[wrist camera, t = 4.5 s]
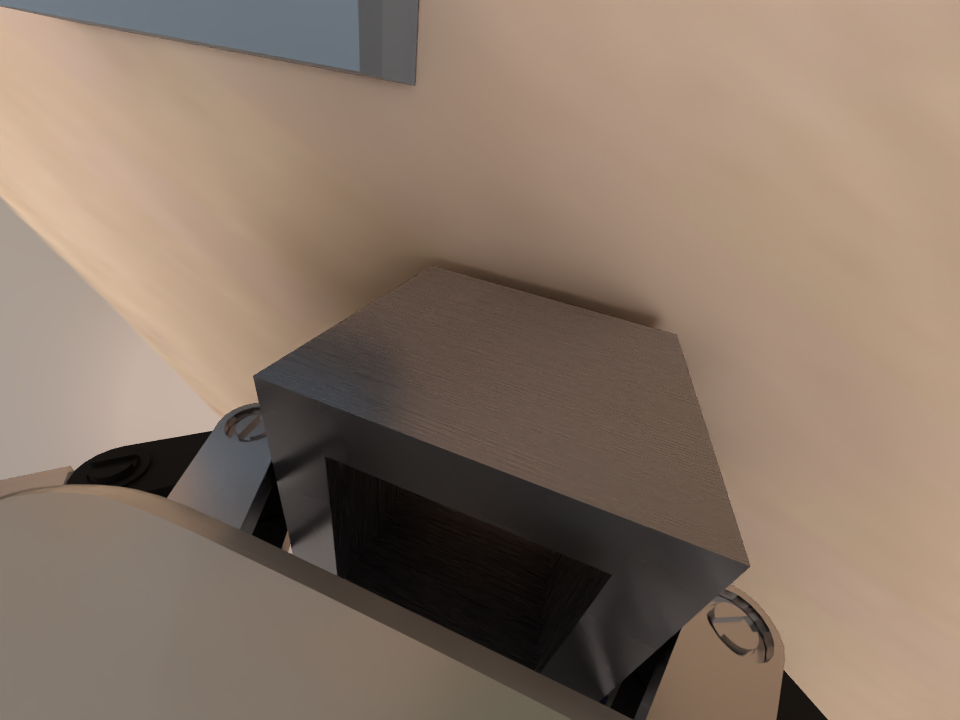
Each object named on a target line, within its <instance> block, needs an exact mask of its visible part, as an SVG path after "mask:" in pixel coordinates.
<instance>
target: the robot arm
mask: <svg viewBox="0 0 960 720" xmlns="http://www.w3.org/2000/svg"><path fill="white" fill-rule="evenodd" d="M290 544H291V543H290V539H289V534H288V530H287V525H286V521H285V517H284V512H283V508H282V503H281V499H280V494H279V490H278V485H277V481H276V476H275V472H274V467H273V463H272V458H271V454H270V449H269V445H268V440H267V436H266V431H265V427H264V422H263V418H262V413H261V409H260V405H259V403H253V404H249V405H244V406H242V407H239V408H237V409H234V410H233V411H231V412H230V413H228V414H226V415H225V416H224V417H223V418H222V419H221V420H220V421H219V423H218V424H217V425H216V427H215V429H214V430H213V431H210V432H204V433H198V434H192V435H186V436H181V437H174V438H169V439H163V440H157V441H151V442H145V443H140V444H134V445H129V446H123V447H119V448H115V449H111V450H109V451H107V452H104V453H101V454H99V455H97V456H95V457H93V458H92V459H90V460H88V461H86V462H85V463H84V464H82V465H81V466H80V467H79V468H77V469H76V470H75V471H74V470H73V469H72V467H71V466H68V467H63V468H57V469H53V470H48V471H43V472H38V473H34V474H28V475H23V476H19V477H14V478H9V479H4V480H0V720H828V719H827V718H826V717H825V716H824V715H823V714H822V713H821V711H820V710H819V709H818V708H817V707H816V706H815V705H814V704H813V702H812V701H811V700H810V699H809V698H808V697H807V696H806V695H805V693H804V692H803V691H802V690H801V689H800V688H799V687H798V686H797V684H796V683H795V682H794V681H793V680H792V679H791V678H790V677H789V675H788V674H787V673H786V672H785V671H784V663H785V655H784V646H783V643H782V640H781V637H780V635H779V632H778V631H777V629H776V627H775V626H774V624H773V622H772V621H771V619H770V617H769V616H768V615H767V614H766V613H765V611H764V610H763V609H762V608H761V607H760V606H759V604H757V603H756V602H755V601H754V600H753V599H752V598H751V597H750V596H748V595H747V594H746V593H745V592H743V591H741V590H740V589H738V588H737V587H735V586H733V585H731V584H730V585H729V586H728V587H727V588H726V589H725V590H723V591H722V592H721V593H720V594H719V595H718V596H717V597H716V598H714V599H713V600H712V601H711V602H710V603H709V604H708V605H707V606H706V607H704V608H703V609H702V610H701V611H700V612H699V613H698V614H697V615H695V616H694V617H693V618H692V619H691V620H690V621H689V622H688V623H686V624H685V625H684V626H683V627H682V628H681V629H680V630H679V631H678V632H676V633H675V634H674V635H673V636H672V637H671V638H670V639H669V640H667V641H666V642H665V643H664V644H663V645H662V646H661V647H660V648H659V649H657V650H656V651H655V652H654V653H653V654H652V655H651V656H650V657H648V658H647V659H646V660H645V661H644V662H643V663H642V664H641V665H639V666H638V667H637V668H636V669H635V670H634V671H633V672H632V673H631V674H629V675H628V676H627V677H626V678H625V679H624V680H623V681H622V682H620V683H619V684H618V685H617V686H616V687H615V688H614V689H613V690H612V692H611V694H610V696H609V698H608V700H607V702H606V704H605V705H603V704H601V703H599V702H597V701H595V700H593V699H591V698H588V697H586V696H584V695H582V694H580V693H578V692H576V691H574V690H572V689H570V688H568V687H566V686H564V685H562V684H560V683H558V682H556V681H554V680H552V679H550V678H547V677H545V676H543V675H541V674H539V673H537V672H535V671H533V670H531V669H529V668H527V667H525V666H523V665H521V664H519V663H517V662H515V661H513V660H511V659H509V658H507V657H504V656H502V655H500V654H498V653H496V652H494V651H492V650H490V649H488V648H486V647H484V646H482V645H480V644H478V643H476V642H474V641H472V640H470V639H467V638H465V637H463V636H461V635H459V634H457V633H455V632H453V631H451V630H449V629H447V628H445V627H443V626H441V625H438V624H436V623H434V622H432V621H430V620H428V619H426V618H424V617H422V616H420V615H418V614H416V613H414V612H412V611H409V610H407V609H405V608H403V607H401V606H399V605H397V604H395V603H393V602H391V601H389V600H387V599H384V598H382V597H380V596H378V595H376V594H374V593H372V592H370V591H368V590H366V589H364V588H362V587H360V586H357V585H355V584H353V583H351V582H349V581H347V580H345V579H343V578H341V577H339V576H337V575H334V574H332V573H330V572H328V571H326V570H324V569H322V568H320V567H318V566H316V565H313V564H311V563H309V562H307V561H305V560H303V559H301V558H299V557H297V556H295V555H292V554H290V553H288V550H289V547H290Z"/></svg>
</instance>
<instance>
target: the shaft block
mask: <svg viewBox="0 0 960 720" xmlns="http://www.w3.org/2000/svg"><path fill="white" fill-rule="evenodd" d="M418 3H419V0H0V6H1V7H6V8H11V9H15V10H20V11H25V12H30V13H34V14H39V15H44V16H48V17H53V18H58V19H63V20H67V21H72V22H77V23H83V24H88V25H94V26H99V27H104V28H110V29H115V30H120V31H126V32H131V33H136V34H142V35H147V36H152V37H158V38H163V39H168V40H174V41H179V42H185V43H190V44H195V45H201V46H206V47H211V48H217V49H222V50H227V51H233V52H238V53H243V54H249V55H254V56H259V57H265V58H270V59H275V60H281V61H286V62H292V63H297V64H302V65H308V66H313V67H318V68H324V69H329V70H334V71H340V72H345V73H350V74H356V75H361V76H366V77H372V78H377V79H383V80H388V81H393V82H399V83H404V84H409V85H415V72H416V49H417V26H418Z"/></svg>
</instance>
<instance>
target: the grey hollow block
mask: <svg viewBox="0 0 960 720" xmlns="http://www.w3.org/2000/svg"><path fill="white" fill-rule="evenodd" d="M253 378H254V382H255V387H256V391H257V396H258V400H259V405H260V409H261V413H262V418H263V422H264V427H265V431H266V436H267V440H268V445H269V449H270V454H271V458H272V463H273V467H274V472H275V476H276V481H277V485H278V490H279V494H280V499H281V503H282V508H283V512H284V517H285V521H286V525H287V530H288V534H289V539H290V543H291V548H292V552H293V555H295V556H297V557H299V558H301V559H303V560H305V561H307V562H309V563H311V564H313V565H316V566H318V567H320V568H322V569H324V570H326V571H328V572H330V573H332V574H334V575H337V576H339V577H341V578H343V579H345V580H347V581H349V582H351V583H353V584H355V585H357V586H360V587H362V588H364V589H366V590H368V591H370V592H372V593H374V594H376V595H378V596H380V597H382V598H384V599H387V600H389V601H391V602H393V603H395V604H397V605H399V606H401V607H403V608H405V609H407V610H409V611H412V612H414V613H416V614H418V615H420V616H422V617H424V618H426V619H428V620H430V621H432V622H434V623H436V624H438V625H441V626H443V627H445V628H447V629H449V630H451V631H453V632H455V633H457V634H459V635H461V636H463V637H465V638H467V639H470V640H472V641H474V642H476V643H478V644H480V645H482V646H484V647H486V648H488V649H490V650H492V651H494V652H496V653H498V654H500V655H502V656H504V657H507V658H509V659H511V660H513V661H515V662H517V663H519V664H521V665H523V666H525V667H527V668H529V669H531V670H533V671H535V672H537V673H539V674H541V675H543V676H545V677H547V678H550V679H552V680H554V681H556V682H558V683H560V684H562V685H564V686H566V687H568V688H570V689H572V690H574V691H576V692H578V693H580V694H582V695H584V696H586V697H588V698H591V699H593V700H595V701H597V702H599V701H600V700H601V699H603V698H604V697H605V696H606V695H607V694H608V693H609V692H610V691H612V690H613V689H614V688H615V687H616V686H617V685H618V684H619V683H620V682H622V681H623V680H624V679H625V678H626V677H627V676H628V675H629V674H631V673H632V672H633V671H634V670H635V669H636V668H637V667H638V666H639V665H641V664H642V663H643V662H644V661H645V660H646V659H647V658H648V657H650V656H651V655H652V654H653V653H654V652H655V651H656V650H657V649H659V648H660V647H661V646H662V645H663V644H664V643H665V642H666V641H667V640H669V639H670V638H671V637H672V636H673V635H674V634H675V633H676V632H678V631H679V630H680V629H681V628H682V627H683V626H684V625H685V624H686V623H688V622H689V621H690V620H691V619H692V618H693V617H694V616H695V615H697V614H698V613H699V612H700V611H701V610H702V609H703V608H704V607H706V606H707V605H708V604H709V603H710V602H711V601H712V600H713V599H714V598H716V597H717V596H718V595H719V594H720V593H721V592H722V591H723V590H725V589H726V588H727V587H728V586H729V585H730V584H731V583H732V582H733V581H735V580H736V579H737V578H738V577H739V576H740V575H741V574H742V573H744V572H745V571H746V570H747V569H748V568H749V567H750V563H749V560H748V557H747V554H746V551H745V548H744V544H743V541H742V538H741V535H740V532H739V529H738V526H737V522H736V519H735V516H734V513H733V510H732V507H731V504H730V500H729V497H728V494H727V491H726V488H725V485H724V482H723V478H722V475H721V472H720V469H719V466H718V463H717V460H716V456H715V453H714V450H713V447H712V444H711V441H710V438H709V434H708V431H707V428H706V425H705V422H704V419H703V416H702V412H701V409H700V406H699V403H698V400H697V397H696V394H695V390H694V387H693V384H692V381H691V378H690V375H689V372H688V368H687V365H686V362H685V359H684V356H683V353H682V350H681V346H680V343H679V340H678V337H677V335H676V334H672V333H669V332H665V331H662V330H658V329H655V328H651V327H648V326H644V325H641V324H637V323H633V322H630V321H626V320H623V319H619V318H616V317H612V316H609V315H605V314H602V313H598V312H595V311H591V310H588V309H584V308H581V307H577V306H574V305H570V304H566V303H563V302H559V301H556V300H552V299H549V298H545V297H542V296H538V295H535V294H531V293H528V292H524V291H521V290H517V289H514V288H510V287H507V286H503V285H499V284H496V283H492V282H489V281H485V280H482V279H478V278H475V277H471V276H468V275H464V274H461V273H457V272H454V271H450V270H447V269H443V268H440V267H436V266H431V267H429V268H427V269H426V270H424V271H422V272H421V273H419V274H418V275H416V276H414V277H413V278H411V279H409V280H408V281H406V282H405V283H403V284H401V285H400V286H398V287H396V288H395V289H393V290H392V291H390V292H388V293H387V294H385V295H384V296H382V297H380V298H379V299H377V300H375V301H374V302H372V303H371V304H369V305H367V306H366V307H364V308H362V309H361V310H359V311H358V312H356V313H354V314H353V315H351V316H349V317H348V318H346V319H345V320H343V321H341V322H340V323H338V324H337V325H335V326H333V327H332V328H330V329H328V330H327V331H325V332H324V333H322V334H320V335H319V336H317V337H315V338H314V339H312V340H311V341H309V342H307V343H306V344H304V345H303V346H301V347H299V348H298V349H296V350H294V351H293V352H291V353H290V354H288V355H286V356H285V357H283V358H281V359H280V360H278V361H277V362H275V363H273V364H272V365H270V366H268V367H267V368H265V369H264V370H262V371H260V372H259V373H257V374H256V375H254V376H253Z"/></svg>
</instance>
